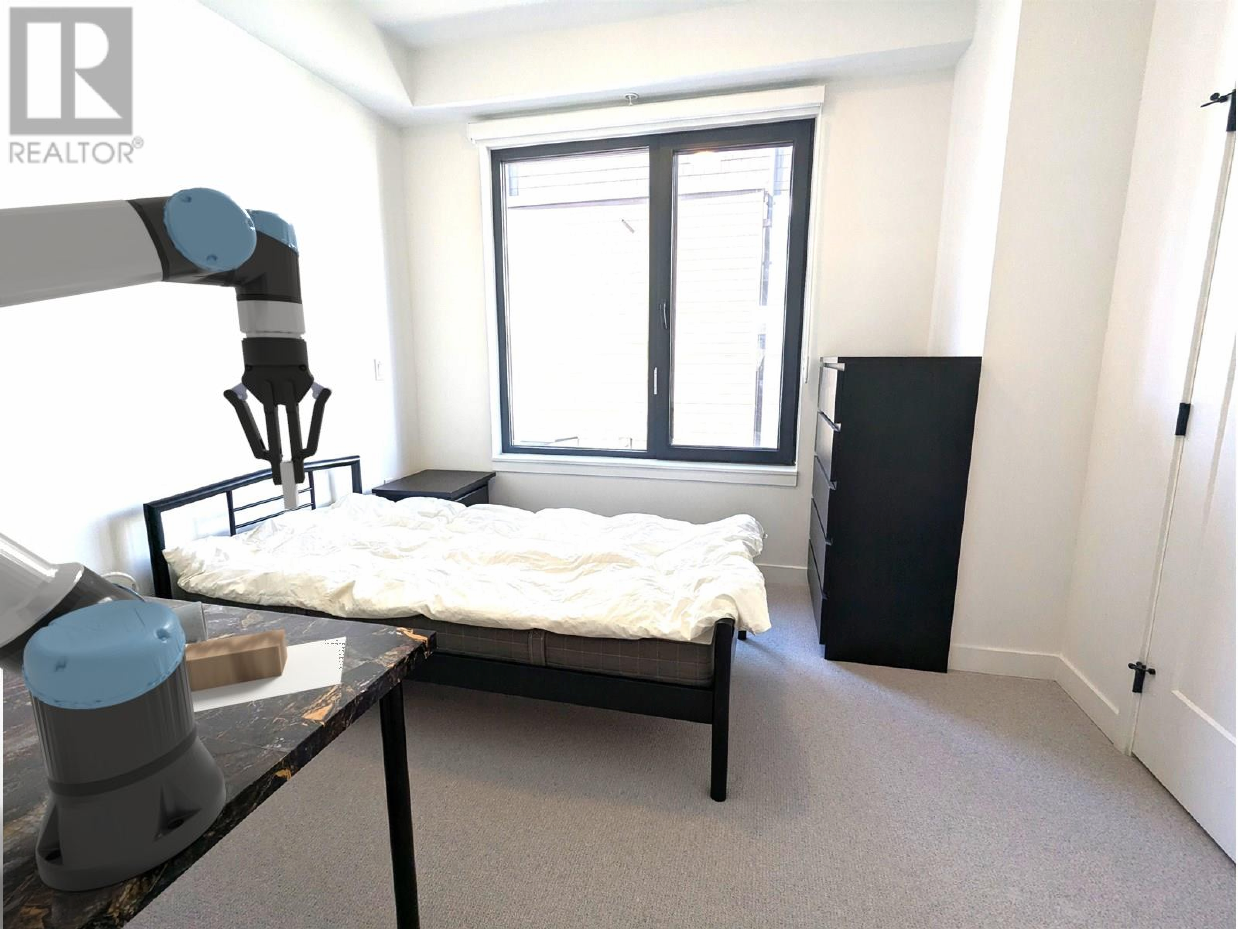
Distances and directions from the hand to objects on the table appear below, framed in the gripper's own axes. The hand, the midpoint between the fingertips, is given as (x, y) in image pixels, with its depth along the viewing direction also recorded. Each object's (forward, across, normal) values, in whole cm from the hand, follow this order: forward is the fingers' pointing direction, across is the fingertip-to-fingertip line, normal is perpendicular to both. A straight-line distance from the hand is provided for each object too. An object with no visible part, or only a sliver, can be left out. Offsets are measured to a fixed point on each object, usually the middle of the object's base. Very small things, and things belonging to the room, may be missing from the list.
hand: (292, 506), depth 80 cm
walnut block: (+26, +5, -8) cm, 27 cm away
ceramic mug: (+29, +21, -20) cm, 41 cm away
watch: (+29, +35, -34) cm, 57 cm away
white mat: (+28, +7, -7) cm, 30 cm away
